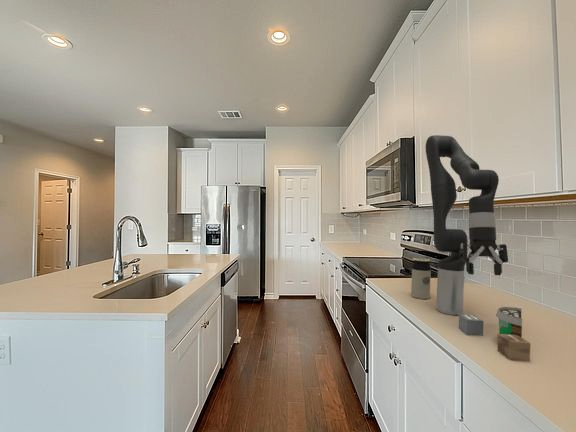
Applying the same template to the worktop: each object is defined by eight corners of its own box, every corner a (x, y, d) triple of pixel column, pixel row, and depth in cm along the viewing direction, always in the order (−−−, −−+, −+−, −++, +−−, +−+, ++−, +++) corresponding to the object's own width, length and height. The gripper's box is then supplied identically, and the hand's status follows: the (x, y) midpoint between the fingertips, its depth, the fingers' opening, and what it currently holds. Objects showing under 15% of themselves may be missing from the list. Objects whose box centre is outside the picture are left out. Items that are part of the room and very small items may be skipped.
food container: (496, 333, 91) (497, 303, 91) (520, 339, 88) (521, 308, 87) (493, 347, 82) (494, 313, 82) (521, 354, 78) (522, 318, 78)
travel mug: (408, 294, 135) (409, 257, 135) (425, 294, 135) (426, 257, 135) (415, 299, 127) (416, 260, 127) (433, 299, 127) (434, 260, 127)
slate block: (458, 329, 95) (458, 314, 95) (473, 329, 95) (474, 314, 94) (466, 335, 90) (467, 319, 90) (482, 336, 90) (483, 320, 90)
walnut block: (497, 351, 80) (497, 333, 80) (515, 352, 79) (516, 334, 79) (509, 360, 75) (510, 341, 75) (529, 361, 74) (530, 342, 74)
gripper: (496, 228, 98) (498, 274, 96) (454, 226, 99) (456, 273, 97) (511, 226, 91) (514, 276, 89) (466, 225, 92) (468, 275, 90)
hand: (484, 274), depth 93 cm, fingers open, 8 cm apart
